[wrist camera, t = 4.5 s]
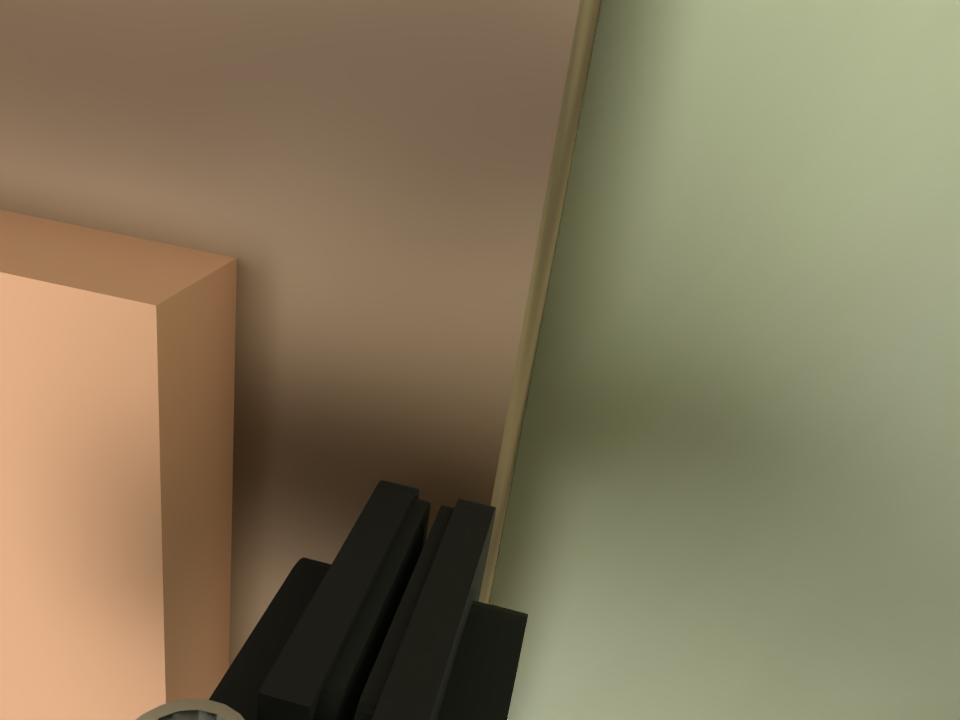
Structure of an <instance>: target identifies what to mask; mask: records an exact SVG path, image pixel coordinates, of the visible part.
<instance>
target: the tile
mask: <svg viewBox="0 0 960 720" xmlns="http://www.w3.org/2000/svg"><path fill="white" fill-rule="evenodd" d="M236 276H237V258H234V257H229V256H225V255H220V254H215V253H210V252H205V251H200V250H195V249H190V248H185V247H180V246H176V245H171V244H166V243H161V242H156V241H151V240H146V239H141V238H136V237H132V236H127V235H122V234H117V233H112V232H107V231H102V230H97V229H92V228H87V227H83V226H78V225H73V224H68V223H63V222H58V221H53V220H48V219H43V218H38V217H34V216H29V215H24V214H19V213H14V212H9V211H4V210H0V720H136V719H137V718H139V717H140V716H141V715H142V714H144V713H146V712H148V711H150V710H152V709H154V708H156V707H158V706H160V705H162V704H166V703H170V702H175V701H179V700H183V699H207V700H209V698H210V697H211V695H212V694H213V692H214V691H215V689H216V687H217V686H218V684H219V683H220V681H221V680H222V678H223V676H224V675H225V673H226V672H227V670H228V669H229V642H230V590H231V538H232V485H233V433H234V381H235V328H236Z"/></svg>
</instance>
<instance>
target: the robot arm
mask: <svg viewBox="0 0 960 720" xmlns="http://www.w3.org/2000/svg"><path fill="white" fill-rule="evenodd" d="M430 509H431V503H430V502H428V501H424V500H420V499H419V489H418V488H414V487H410V486H406V485H401V484H397V483H393V482H389V481H385V480H381V481H380V482H379V483H378V484H377V486H376V488H375V490H374V491H373V493H372V495H371V497H370V498H369V500H368V502H367V504H366V505H365V507H364V509H363V510H362V512H361V514H360V516H359V517H358V519H357V521H356V523H355V524H354V526H353V528H352V530H351V531H350V533H349V535H348V537H347V538H346V540H345V542H344V544H343V545H342V547H341V549H340V551H339V552H338V554H337V556H336V558H335V559H334V561H333V563H332V564H328V563H324V562H320V561H316V560H312V559H308V558H304V557H303V558H301V559H300V560H298V562H297V563H296V564H295V566H294V567H293V568H292V570H291V572H290V573H289V575H288V576H287V578H286V579H285V581H284V582H283V584H282V586H281V587H280V589H279V590H278V592H277V593H276V595H275V597H274V598H273V600H272V601H271V603H270V604H269V606H268V608H267V609H266V611H265V612H264V614H263V615H262V617H261V618H260V620H259V622H258V623H257V625H256V626H255V628H254V629H253V631H252V633H251V634H250V636H249V637H248V639H247V640H246V642H245V644H244V645H243V647H242V648H241V650H240V651H239V653H238V655H237V656H236V658H235V659H234V661H233V662H232V664H231V665H230V667H229V669H228V670H227V672H226V673H225V675H224V676H223V678H222V680H221V681H220V683H219V684H218V686H217V687H216V689H215V691H214V692H213V694H212V695H211V697H210V698H209V700H207V699H183V700H179V701H175V702H170V703H166V704H162V705H160V706H158V707H156V708H154V709H152V710H150V711H148V712H146V713H144V714H142V715H141V716H140V717H139V718H137V719H136V720H507V716H508V711H509V706H510V702H511V697H512V692H513V687H514V682H515V677H516V672H517V667H518V662H519V657H520V652H521V647H522V642H523V637H524V632H525V627H526V622H527V617H528V614H525V613H521V612H517V611H513V610H510V609H506V608H502V607H498V606H494V605H490V604H486V603H482V602H479V597H480V592H481V587H482V582H483V577H484V571H485V566H486V561H487V556H488V551H489V545H490V540H491V535H492V530H493V525H494V519H495V514H496V507H493V506H489V505H485V504H481V503H476V502H472V501H468V500H464V499H460V498H459V499H458V501H457V503H456V505H455V508H453V507H449V506H445V505H441V507H440V509H439V511H438V514H437V516H436V519H435V521H434V523H433V526H432V528H431V530H430V533H429V535H428V538H427V540H426V536H427V530H428V523H429V516H430Z"/></svg>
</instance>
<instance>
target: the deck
mask: <svg viewBox="0 0 960 720" xmlns="http://www.w3.org/2000/svg"><path fill="white" fill-rule="evenodd" d="M600 5H601V0H0V210H4V211H9V212H14V213H19V214H24V215H29V216H34V217H38V218H43V219H48V220H53V221H58V222H63V223H68V224H73V225H78V226H83V227H87V228H92V229H97V230H102V231H107V232H112V233H117V234H122V235H127V236H132V237H136V238H141V239H146V240H151V241H156V242H161V243H166V244H171V245H176V246H180V247H185V248H190V249H195V250H200V251H205V252H210V253H215V254H220V255H225V256H229V257H234V258H237V276H236V328H235V381H234V433H233V485H232V538H231V590H230V642H229V667H230V665H231V664H232V662H233V661H234V659H235V658H236V656H237V655H238V653H239V651H240V650H241V648H242V647H243V645H244V644H245V642H246V640H247V639H248V637H249V636H250V634H251V633H252V631H253V629H254V628H255V626H256V625H257V623H258V622H259V620H260V618H261V617H262V615H263V614H264V612H265V611H266V609H267V608H268V606H269V604H270V603H271V601H272V600H273V598H274V597H275V595H276V593H277V592H278V590H279V589H280V587H281V586H282V584H283V582H284V581H285V579H286V578H287V576H288V575H289V573H290V572H291V570H292V568H293V567H294V566H295V564H296V563H297V562H298V560H300V559H301V558H303V557H304V558H308V559H312V560H316V561H320V562H324V563H328V564H332V563H333V561H334V559H335V558H336V556H337V554H338V552H339V551H340V549H341V547H342V545H343V544H344V542H345V540H346V538H347V537H348V535H349V533H350V531H351V530H352V528H353V526H354V524H355V523H356V521H357V519H358V517H359V516H360V514H361V512H362V510H363V509H364V507H365V505H366V504H367V502H368V500H369V498H370V497H371V495H372V493H373V491H374V490H375V488H376V486H377V484H378V483H379V482H380V481H381V480H385V481H389V482H393V483H397V484H401V485H406V486H410V487H414V488H418V489H419V499H420V500H424V501H428V502H430V503H431V509H430V516H429V523H428V530H427V536H426V540H427V538H428V535H429V533H430V530H431V528H432V526H433V523H434V521H435V519H436V516H437V514H438V511H439V509H440V507H441V505H445V506H449V507H453V508H455V505H456V503H457V501H458V499H459V498H460V499H464V500H468V501H472V502H476V503H481V504H485V505H489V506H493V507H496V514H495V519H494V525H493V530H492V535H491V540H490V545H489V551H488V556H487V561H486V566H485V571H484V577H483V582H482V587H481V592H480V597H479V602H482V603H486V604H489V599H490V594H491V588H492V583H493V578H494V572H495V567H496V562H497V556H498V551H499V545H500V540H501V535H502V529H503V524H504V519H505V513H506V508H507V503H508V497H509V492H510V487H511V481H512V476H513V471H514V465H515V460H516V455H517V449H518V444H519V438H520V433H521V428H522V422H523V417H524V412H525V406H526V401H527V396H528V390H529V385H530V380H531V374H532V369H533V364H534V358H535V353H536V348H537V342H538V337H539V331H540V326H541V321H542V315H543V310H544V305H545V299H546V294H547V289H548V283H549V278H550V273H551V267H552V262H553V257H554V251H555V246H556V241H557V235H558V230H559V224H560V219H561V214H562V208H563V203H564V198H565V192H566V187H567V182H568V176H569V171H570V166H571V160H572V155H573V150H574V144H575V139H576V134H577V128H578V123H579V117H580V112H581V107H582V101H583V96H584V91H585V85H586V80H587V75H588V69H589V64H590V59H591V53H592V48H593V43H594V37H595V32H596V27H597V21H598V16H599V10H600Z"/></svg>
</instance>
